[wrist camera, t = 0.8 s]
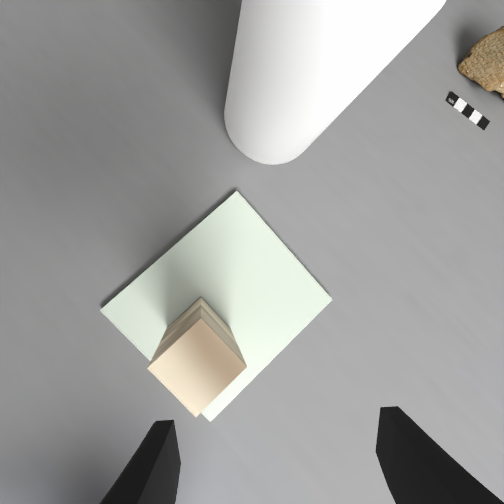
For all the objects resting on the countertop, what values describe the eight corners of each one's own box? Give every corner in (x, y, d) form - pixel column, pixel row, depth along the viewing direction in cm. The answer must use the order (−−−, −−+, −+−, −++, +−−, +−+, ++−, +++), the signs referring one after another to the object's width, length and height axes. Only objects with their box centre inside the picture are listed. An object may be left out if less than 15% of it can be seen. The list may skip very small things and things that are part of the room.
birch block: (197, 359, 27) (196, 417, 17) (166, 327, 26) (147, 368, 17) (230, 327, 27) (247, 366, 18) (200, 296, 27) (201, 318, 17)
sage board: (210, 418, 28) (210, 422, 27) (102, 309, 26) (99, 310, 26) (329, 298, 30) (332, 299, 29) (236, 192, 28) (237, 190, 28)
